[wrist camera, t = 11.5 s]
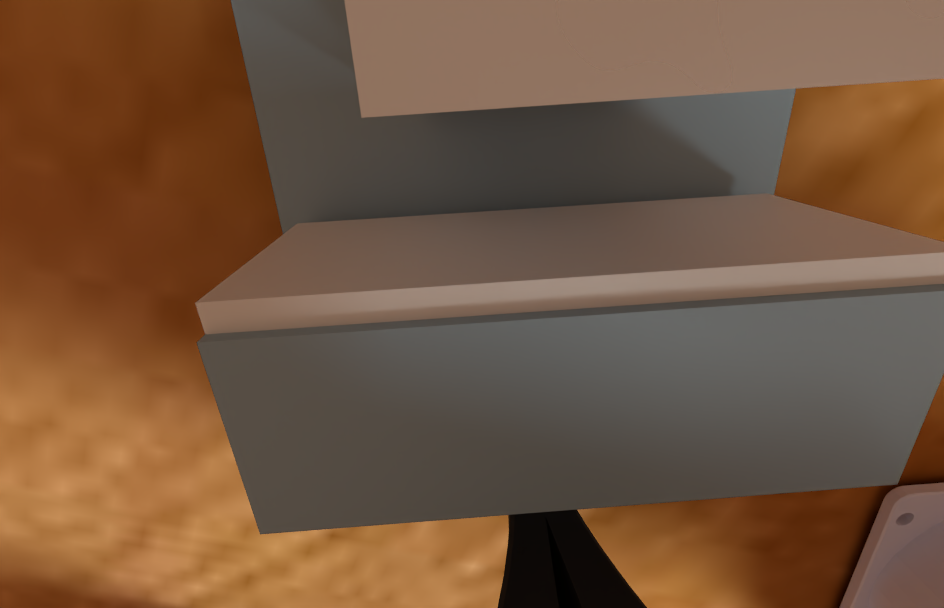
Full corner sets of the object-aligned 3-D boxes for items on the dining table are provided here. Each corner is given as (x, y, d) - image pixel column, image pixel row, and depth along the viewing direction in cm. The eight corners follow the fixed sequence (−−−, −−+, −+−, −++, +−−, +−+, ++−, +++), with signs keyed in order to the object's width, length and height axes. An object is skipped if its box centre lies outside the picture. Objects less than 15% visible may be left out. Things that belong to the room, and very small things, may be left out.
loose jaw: (726, 339, 11) (898, 484, 7) (334, 367, 10) (260, 534, 6) (753, 189, 9) (993, 256, 5) (303, 218, 9) (185, 309, 5)
